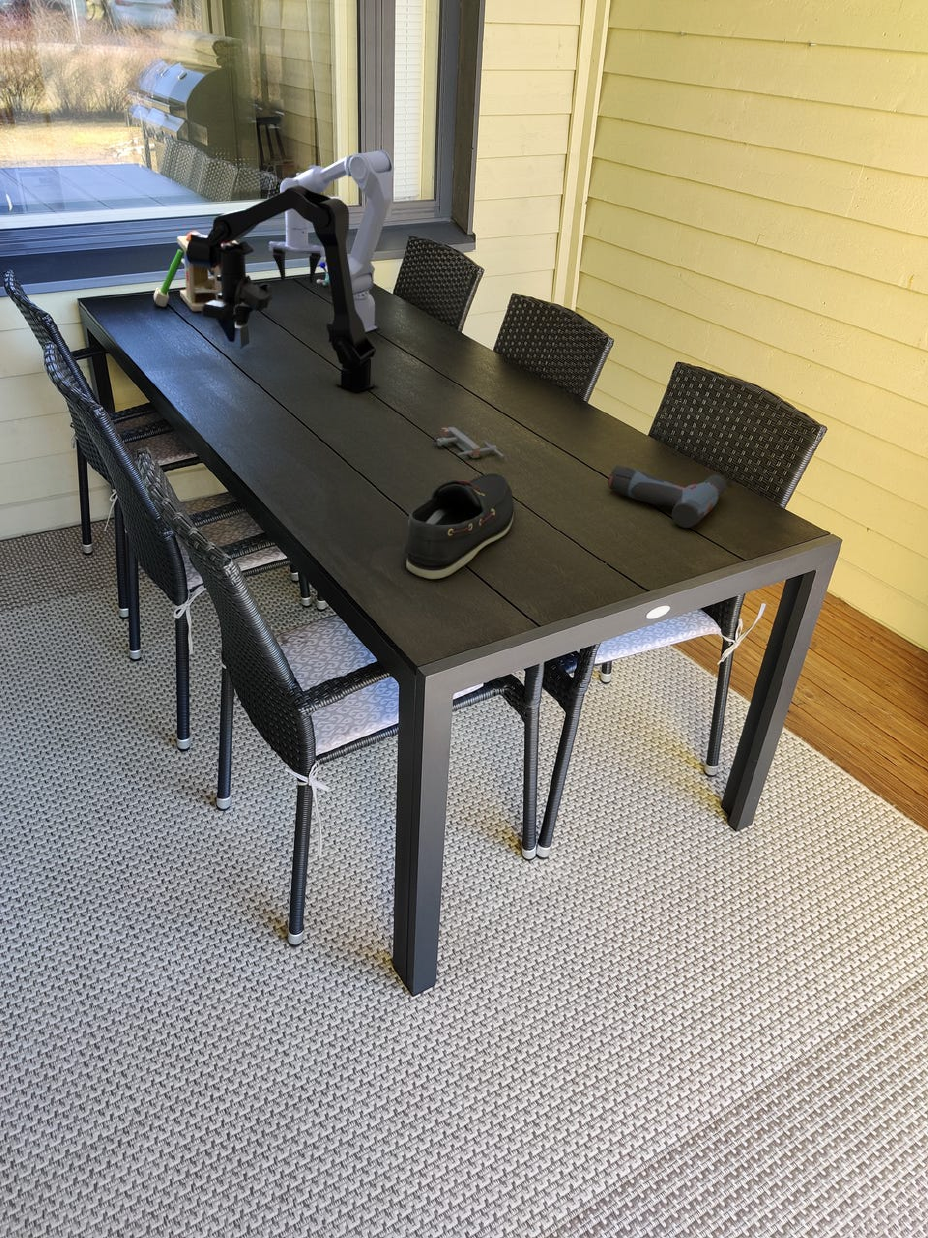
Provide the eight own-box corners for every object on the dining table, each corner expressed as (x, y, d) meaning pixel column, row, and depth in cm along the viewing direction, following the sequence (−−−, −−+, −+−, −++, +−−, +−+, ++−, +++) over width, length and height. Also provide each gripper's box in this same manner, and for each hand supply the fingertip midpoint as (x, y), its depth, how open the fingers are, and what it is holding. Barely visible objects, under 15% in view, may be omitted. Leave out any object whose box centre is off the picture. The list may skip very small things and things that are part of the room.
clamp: (428, 429, 204) (470, 423, 208) (427, 439, 205) (469, 432, 209) (464, 459, 193) (507, 451, 198) (463, 469, 194) (506, 461, 199)
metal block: (223, 345, 231) (222, 324, 228) (232, 339, 234) (231, 320, 231) (241, 348, 230) (240, 328, 227) (249, 343, 233) (248, 323, 230)
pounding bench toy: (159, 313, 256) (153, 242, 246) (148, 297, 266) (141, 228, 256) (246, 308, 265) (243, 239, 255) (232, 293, 276) (228, 226, 266)
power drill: (637, 467, 202) (729, 498, 194) (598, 499, 188) (695, 533, 180) (642, 443, 199) (736, 473, 191) (602, 474, 185) (701, 507, 177)
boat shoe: (539, 516, 182) (544, 464, 176) (440, 585, 158) (443, 528, 152) (480, 497, 187) (483, 446, 182) (376, 561, 163) (376, 505, 158)
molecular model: (344, 283, 280) (333, 248, 279) (317, 296, 284) (305, 261, 282) (361, 286, 290) (350, 252, 289) (334, 298, 294) (323, 265, 293)
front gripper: (242, 286, 213) (245, 357, 222) (284, 268, 228) (286, 334, 237) (198, 278, 216) (203, 347, 225) (242, 260, 231) (245, 326, 239)
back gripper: (265, 227, 251) (267, 281, 259) (322, 233, 251) (321, 287, 259) (271, 221, 257) (273, 274, 265) (326, 227, 257) (326, 280, 265)
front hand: (236, 339), depth 231 cm, fingers closed on metal block, 4 cm apart
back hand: (297, 280), depth 262 cm, fingers open, 7 cm apart
